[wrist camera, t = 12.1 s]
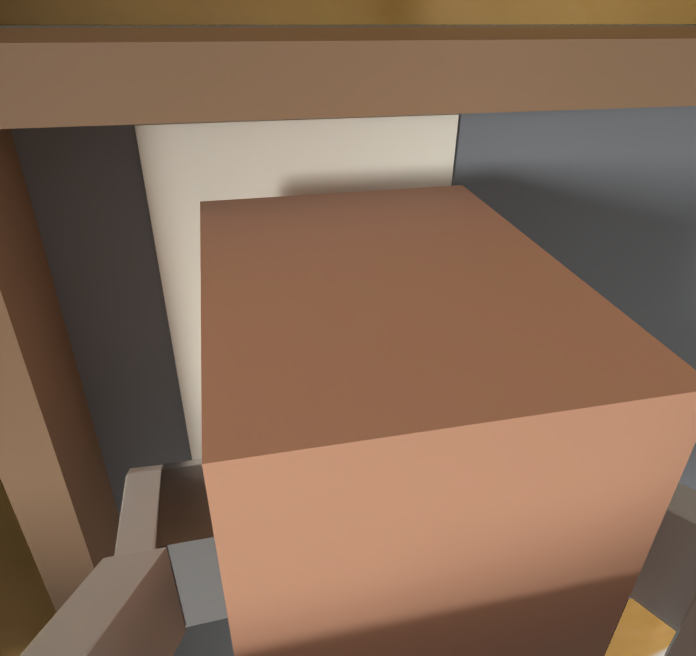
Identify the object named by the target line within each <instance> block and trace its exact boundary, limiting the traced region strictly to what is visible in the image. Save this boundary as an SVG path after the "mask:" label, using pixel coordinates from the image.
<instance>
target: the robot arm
mask: <svg viewBox="0 0 696 656" xmlns="http://www.w3.org/2000/svg"><path fill="white" fill-rule="evenodd" d="M630 597H631V598H632V599H634V600H635V601H636V602H638V603H639V604H640V605H642V606H643V607H644V608H646V609H647V610H648V611H650V612H651V613H652V614H654V615H655V616H656V617H658V618H659V619H660V620H662V621H663V622H664V623H666V624H667V625H668V626H670V627H671V628H672V629H674V630H675V631H676V633H675V635H674V637H673V639H672V641H671V643H670V645H669V647H668V649H667V651H666V653H665V656H696V490H694V489H692V488H690V487H688V486H685V485H683V484H681V483H679V482H678V485H677V487H676V489H675V492H674V494H673V496H672V499H671V501H670V503H669V506H668V508H667V510H666V513H665V515H664V517H663V520H662V522H661V524H660V527H659V529H658V531H657V534H656V536H655V538H654V541H653V543H652V546H651V548H650V550H649V553H648V555H647V557H646V560H645V562H644V564H643V567H642V569H641V571H640V574H639V576H638V578H637V581H636V583H635V585H634V588H633V590H632V592H631V595H630ZM225 618H228V616H227V610H226V604H225V598H224V592H223V586H222V580H221V574H220V569H219V563H218V557H217V551H216V545H215V539H214V533H213V527H212V521H211V515H210V510H209V504H208V498H207V492H206V486H205V480H204V474H203V468H202V459H198V460H190V461H182V462H174V463H165V464H163V465H155V466H147V467H138V468H130V469H129V471H128V473H127V475H126V478H125V485H124V492H123V499H122V505H121V512H120V519H119V526H118V532H117V539H116V546H115V553H114V556H111V557H106V558H103V559H102V560H101V561H100V562H99V564H98V565H97V566H96V567H95V568H94V569H93V571H92V572H91V573H90V574H89V575H88V576H87V578H86V579H85V580H84V581H83V582H82V583H81V584H80V586H79V587H78V588H77V589H76V590H75V591H74V593H73V594H72V595H71V596H70V597H69V598H68V600H67V601H66V602H65V603H64V604H63V605H62V607H61V608H60V609H59V610H58V611H57V612H56V613H55V615H54V616H53V617H52V618H51V619H50V620H49V622H48V623H47V624H46V625H45V626H44V627H43V629H42V630H41V631H40V632H39V633H38V634H37V636H36V637H35V638H34V639H33V640H32V641H31V642H30V644H29V645H28V646H27V647H26V648H25V649H24V651H23V652H22V653H21V654H20V655H19V656H173V655H174V653H175V651H176V649H177V647H178V645H179V644H180V642H181V640H182V638H183V636H184V634H185V632H186V628H185V627H190V626H194V625H199V624H203V623H207V622H212V621H216V620H221V619H225Z"/></svg>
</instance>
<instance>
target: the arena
mask: <svg viewBox="0 0 696 656" xmlns="http://www.w3.org/2000/svg"><path fill="white" fill-rule="evenodd" d="M454 185H463V186H464V187H465V188H467V189H468V190H469V191H470V192H472V193H473V194H474V195H475V196H477V197H478V198H479V199H481V200H482V201H483V202H484V203H486V204H487V205H488V206H489V207H491V208H492V209H493V210H494V211H496V212H497V213H498V214H499V215H501V216H502V217H503V218H504V219H506V220H507V221H508V222H510V223H511V224H512V225H513V226H515V227H516V228H517V229H518V230H520V231H521V232H522V233H523V234H525V235H526V236H527V237H528V238H530V239H531V240H532V241H533V242H535V243H536V244H537V245H539V246H540V247H541V248H542V249H544V250H545V251H546V252H547V253H549V254H550V255H551V256H552V257H554V258H555V259H556V260H557V261H559V262H560V263H561V264H562V265H564V266H565V267H566V268H568V269H569V270H570V271H571V272H573V273H574V274H575V275H576V276H578V277H579V278H580V279H581V280H583V281H584V282H585V283H586V284H588V285H589V286H590V287H591V288H593V289H594V290H595V291H597V292H598V293H599V294H600V295H602V296H603V297H604V298H605V299H607V300H608V301H609V302H610V303H612V304H613V305H614V306H615V307H617V308H618V309H619V310H620V311H622V312H623V313H624V314H626V315H627V316H628V317H629V318H631V319H632V320H633V321H634V322H636V323H637V324H638V325H639V326H641V327H642V328H643V329H644V330H646V331H647V332H648V333H649V334H651V335H652V336H653V337H655V338H656V339H657V340H658V341H660V342H661V343H662V344H663V345H665V346H666V347H667V348H668V349H670V350H671V351H672V352H673V353H675V354H676V355H677V356H678V357H680V358H681V359H682V360H684V361H685V362H686V363H687V364H689V365H690V366H691V367H692V368H694V369H695V370H696V24H684V25H0V479H1V481H2V484H3V486H4V488H5V491H6V493H7V496H8V498H9V500H10V503H11V505H12V508H13V510H14V512H15V515H16V517H17V520H18V522H19V524H20V527H21V529H22V532H23V534H24V536H25V539H26V541H27V544H28V546H29V548H30V551H31V553H32V556H33V558H34V560H35V563H36V565H37V568H38V570H39V573H40V575H41V577H42V580H43V582H44V585H45V587H46V589H47V592H48V594H49V597H50V599H51V601H52V604H53V606H54V609H55V611H56V612H57V611H58V610H59V609H60V608H61V607H62V605H63V604H64V603H65V602H66V601H67V600H68V598H69V597H70V596H71V595H72V594H73V593H74V591H75V590H76V589H77V588H78V587H79V586H80V584H81V583H82V582H83V581H84V580H85V579H86V578H87V576H88V575H89V574H90V573H91V572H92V571H93V569H94V568H95V567H96V566H97V565H98V564H99V562H100V561H101V560H102V559H103V558H106V557H111V556H114V553H115V546H116V539H117V532H118V526H119V519H120V512H121V505H122V499H123V492H124V485H125V478H126V475H127V473H128V471H129V469H130V468H138V467H147V466H155V465H163V464H165V463H174V462H182V461H190V460H198V459H202V418H201V268H200V201H216V200H232V199H248V198H264V197H280V196H295V195H311V194H327V193H343V192H359V191H375V190H391V189H407V188H423V187H438V186H454ZM679 483H681V484H683V485H685V486H688V487H690V488H692V489H694V490H696V443H695V445H694V447H693V450H692V452H691V454H690V457H689V459H688V461H687V464H686V466H685V468H684V471H683V473H682V475H681V478H680V480H679ZM629 599H631V597H629ZM185 628H186V632H185V634H184V636H183V638H182V640H181V642H180V644H179V645H178V647H177V649H176V651H175V653H174V655H173V656H234V651H233V645H232V639H231V633H230V627H229V622H228V618H225V619H221V620H216V621H212V622H207V623H203V624H199V625H194V626H190V627H185Z"/></svg>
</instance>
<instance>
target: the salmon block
mask: <svg viewBox="0 0 696 656" xmlns="http://www.w3.org/2000/svg"><path fill="white" fill-rule="evenodd" d="M200 268H201V418H202V468H203V474H204V480H205V486H206V492H207V498H208V504H209V510H210V515H211V521H212V527H213V533H214V539H215V545H216V551H217V557H218V563H219V569H220V574H221V580H222V586H223V592H224V598H225V604H226V610H227V616H228V622H229V627H230V633H231V639H232V645H233V651H234V656H604V655H605V653H606V651H607V648H608V646H609V644H610V641H611V639H612V637H613V634H614V632H615V630H616V627H617V625H618V623H619V620H620V618H621V616H622V613H623V611H624V609H625V606H626V604H627V602H628V599H629V597H630V595H631V592H632V590H633V588H634V585H635V583H636V581H637V578H638V576H639V574H640V571H641V569H642V567H643V564H644V562H645V560H646V557H647V555H648V553H649V550H650V548H651V546H652V543H653V541H654V538H655V536H656V534H657V531H658V529H659V527H660V524H661V522H662V520H663V517H664V515H665V513H666V510H667V508H668V506H669V503H670V501H671V499H672V496H673V494H674V492H675V489H676V487H677V485H678V482H679V480H680V478H681V475H682V473H683V471H684V468H685V466H686V464H687V461H688V459H689V457H690V454H691V452H692V450H693V447H694V445H695V443H696V370H695V369H694V368H692V367H691V366H690V365H689V364H687V363H686V362H685V361H684V360H682V359H681V358H680V357H678V356H677V355H676V354H675V353H673V352H672V351H671V350H670V349H668V348H667V347H666V346H665V345H663V344H662V343H661V342H660V341H658V340H657V339H656V338H655V337H653V336H652V335H651V334H649V333H648V332H647V331H646V330H644V329H643V328H642V327H641V326H639V325H638V324H637V323H636V322H634V321H633V320H632V319H631V318H629V317H628V316H627V315H626V314H624V313H623V312H622V311H620V310H619V309H618V308H617V307H615V306H614V305H613V304H612V303H610V302H609V301H608V300H607V299H605V298H604V297H603V296H602V295H600V294H599V293H598V292H597V291H595V290H594V289H593V288H591V287H590V286H589V285H588V284H586V283H585V282H584V281H583V280H581V279H580V278H579V277H578V276H576V275H575V274H574V273H573V272H571V271H570V270H569V269H568V268H566V267H565V266H564V265H562V264H561V263H560V262H559V261H557V260H556V259H555V258H554V257H552V256H551V255H550V254H549V253H547V252H546V251H545V250H544V249H542V248H541V247H540V246H539V245H537V244H536V243H535V242H533V241H532V240H531V239H530V238H528V237H527V236H526V235H525V234H523V233H522V232H521V231H520V230H518V229H517V228H516V227H515V226H513V225H512V224H511V223H510V222H508V221H507V220H506V219H504V218H503V217H502V216H501V215H499V214H498V213H497V212H496V211H494V210H493V209H492V208H491V207H489V206H488V205H487V204H486V203H484V202H483V201H482V200H481V199H479V198H478V197H477V196H475V195H474V194H473V193H472V192H470V191H469V190H468V189H467V188H465V187H464V186H463V185H454V186H438V187H423V188H407V189H391V190H375V191H359V192H343V193H327V194H311V195H295V196H280V197H264V198H248V199H232V200H216V201H200Z"/></svg>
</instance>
